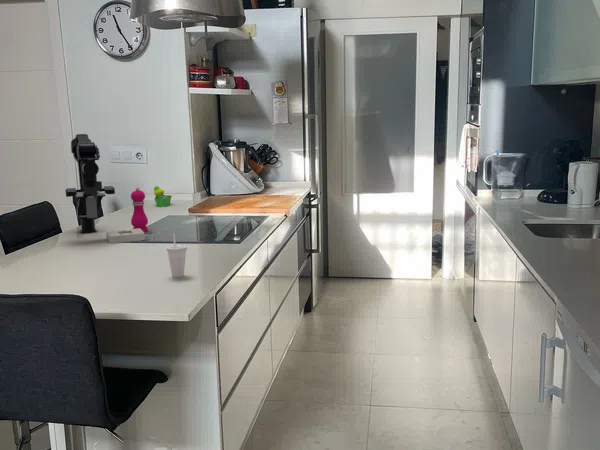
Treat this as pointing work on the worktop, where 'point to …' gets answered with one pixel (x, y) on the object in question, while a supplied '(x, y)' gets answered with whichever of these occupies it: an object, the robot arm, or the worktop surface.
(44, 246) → the worktop surface
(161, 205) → the fruit basket
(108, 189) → the robot arm
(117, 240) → the socket plate
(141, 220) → the pepper mill
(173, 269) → the smoothie
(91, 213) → the plug
